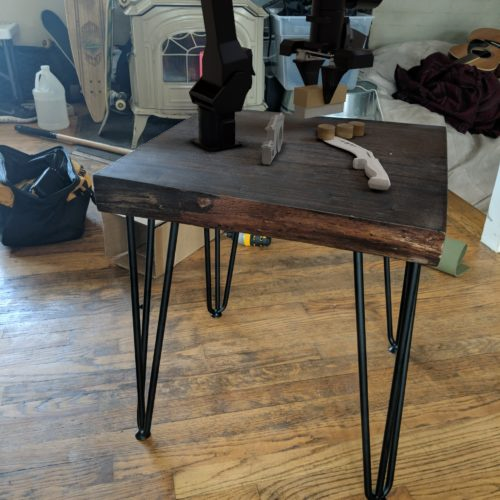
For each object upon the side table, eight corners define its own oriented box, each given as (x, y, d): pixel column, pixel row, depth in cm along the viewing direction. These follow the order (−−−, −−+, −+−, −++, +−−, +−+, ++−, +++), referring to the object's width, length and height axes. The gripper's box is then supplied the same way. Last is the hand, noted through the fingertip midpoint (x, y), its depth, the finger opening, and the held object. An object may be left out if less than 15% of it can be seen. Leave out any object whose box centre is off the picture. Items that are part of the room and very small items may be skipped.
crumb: (343, 133, 96) (345, 122, 95) (355, 131, 97) (356, 120, 96) (355, 137, 93) (357, 126, 93) (367, 134, 95) (368, 124, 94)
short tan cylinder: (332, 135, 94) (333, 124, 93) (343, 133, 96) (345, 122, 95) (344, 139, 92) (345, 128, 91) (355, 137, 93) (357, 126, 92)
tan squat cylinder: (313, 136, 91) (314, 125, 90) (325, 134, 93) (326, 123, 92) (326, 140, 89) (327, 129, 88) (337, 138, 91) (339, 126, 90)
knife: (317, 126, 96) (359, 127, 96) (316, 135, 97) (358, 136, 96) (335, 178, 69) (393, 179, 69) (334, 190, 70) (391, 191, 70)
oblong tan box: (292, 115, 95) (294, 87, 93) (331, 108, 101) (333, 82, 98) (305, 119, 93) (307, 91, 90) (344, 112, 98) (347, 85, 96)
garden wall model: (271, 166, 78) (273, 127, 76) (259, 165, 79) (261, 126, 76) (284, 143, 89) (286, 109, 86) (274, 142, 89) (275, 108, 86)
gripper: (402, 12, 86) (387, 107, 93) (324, 5, 99) (317, 88, 106) (356, 14, 80) (344, 114, 87) (279, 6, 93) (275, 94, 100)
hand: (319, 102), depth 96 cm, fingers closed on oblong tan box, 3 cm apart
